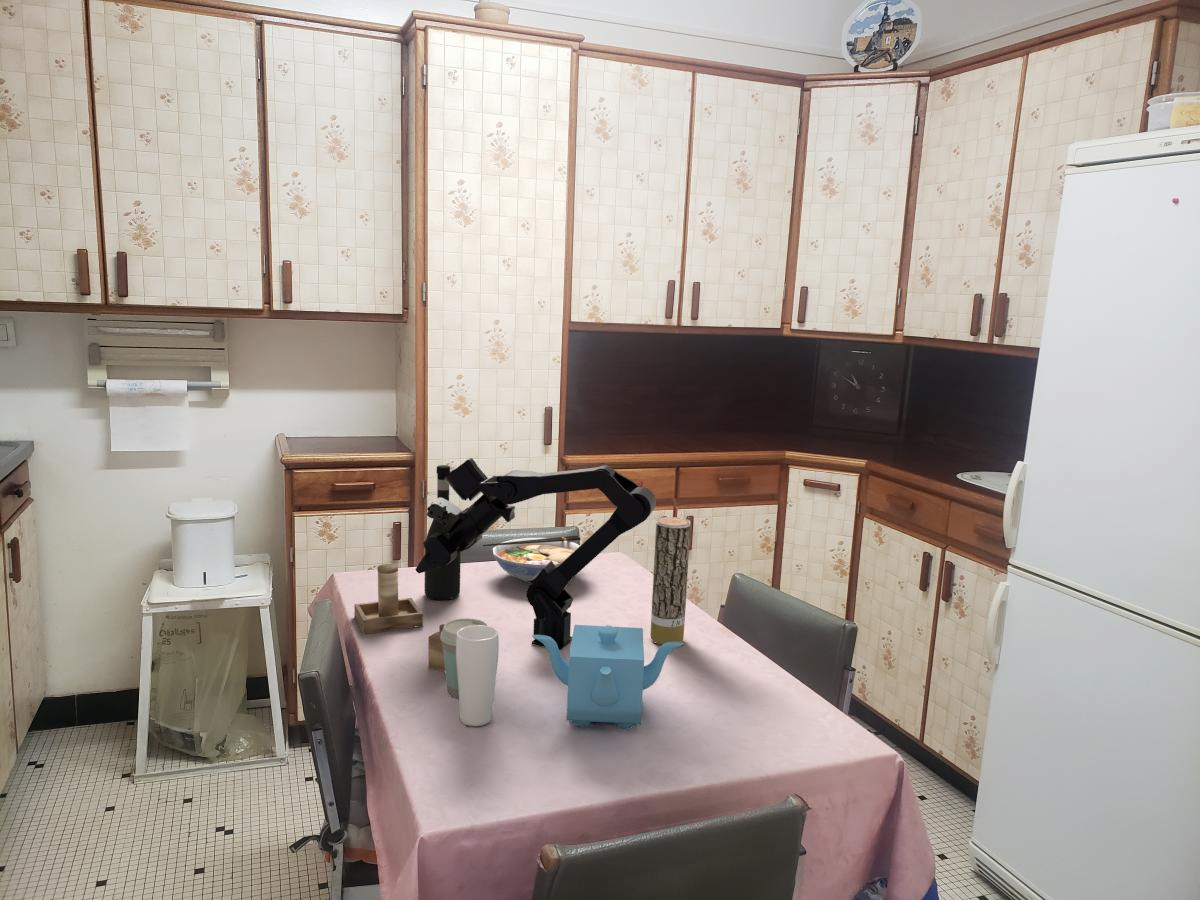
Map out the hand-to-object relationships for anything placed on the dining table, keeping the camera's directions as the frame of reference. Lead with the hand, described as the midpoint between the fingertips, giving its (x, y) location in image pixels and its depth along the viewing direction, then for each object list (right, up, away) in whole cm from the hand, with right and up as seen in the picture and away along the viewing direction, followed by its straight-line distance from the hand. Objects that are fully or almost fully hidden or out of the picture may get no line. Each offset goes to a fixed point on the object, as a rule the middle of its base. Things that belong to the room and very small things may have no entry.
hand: (426, 564), depth 180 cm
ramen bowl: (+20, -8, +35) cm, 41 cm away
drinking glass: (+15, -21, -36) cm, 45 cm away
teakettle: (+36, -21, -33) cm, 53 cm away
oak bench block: (+9, -17, -18) cm, 26 cm away
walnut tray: (-9, -12, +4) cm, 16 cm away
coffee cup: (+12, -19, -27) cm, 35 cm away
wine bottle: (-1, -10, +21) cm, 23 cm away
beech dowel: (-9, -12, +4) cm, 15 cm away
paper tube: (+49, -16, 0) cm, 51 cm away
